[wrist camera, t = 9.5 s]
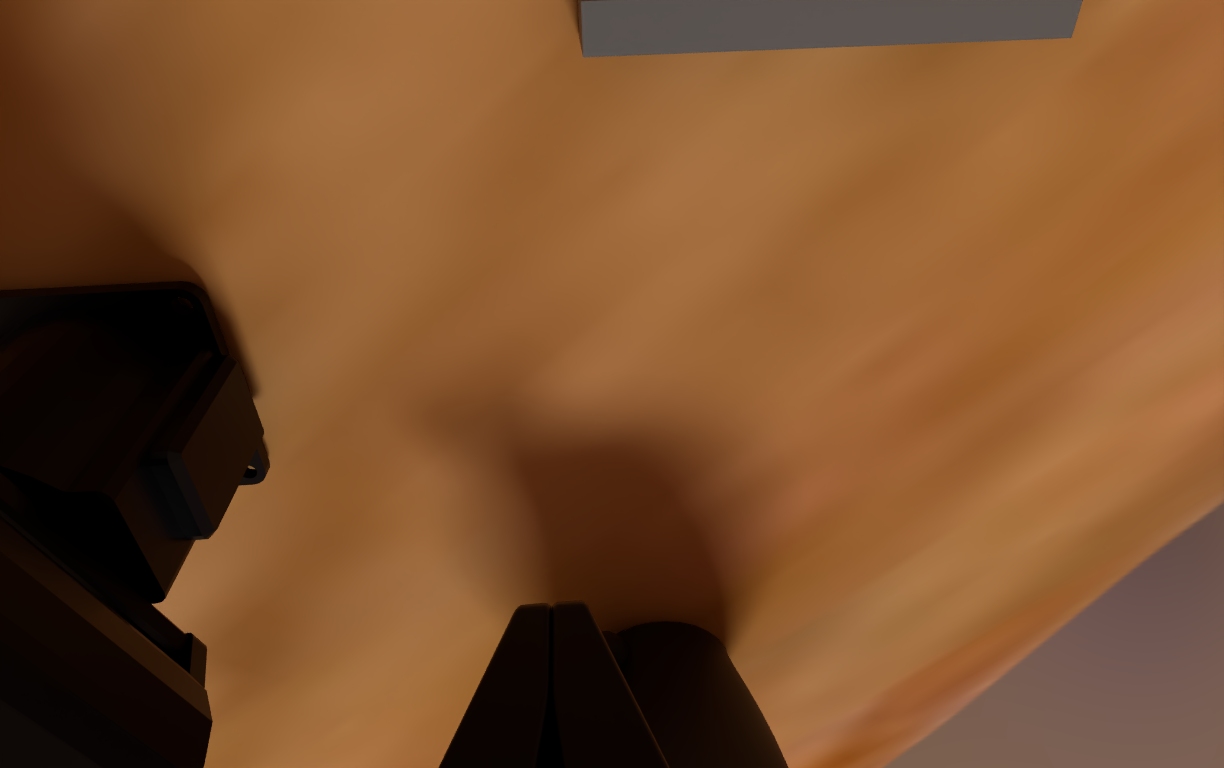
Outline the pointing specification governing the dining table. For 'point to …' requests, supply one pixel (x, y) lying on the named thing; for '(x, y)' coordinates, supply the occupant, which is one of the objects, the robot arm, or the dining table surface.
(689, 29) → the t socket
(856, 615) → the dining table surface
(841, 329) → the dining table surface
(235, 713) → the dining table surface
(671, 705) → the mug
